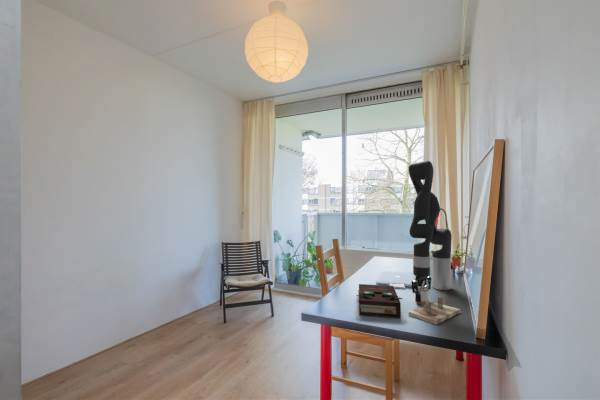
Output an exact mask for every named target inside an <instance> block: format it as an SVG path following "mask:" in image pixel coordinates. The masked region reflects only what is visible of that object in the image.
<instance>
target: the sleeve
mask: <svg viewBox="0 0 600 400" xmlns="http://www.w3.org/2000/svg"><path fill="white" fill-rule="evenodd" d="M418 291H419V289H418ZM429 292H430V290H429V291H428V290H427V289H423V290H421V302H416V294H415V293H414V302H415V304H419V305H422V306H424V305H426V302H430V301H429V299H430V297H429V296H430V294H429Z"/></svg>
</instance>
